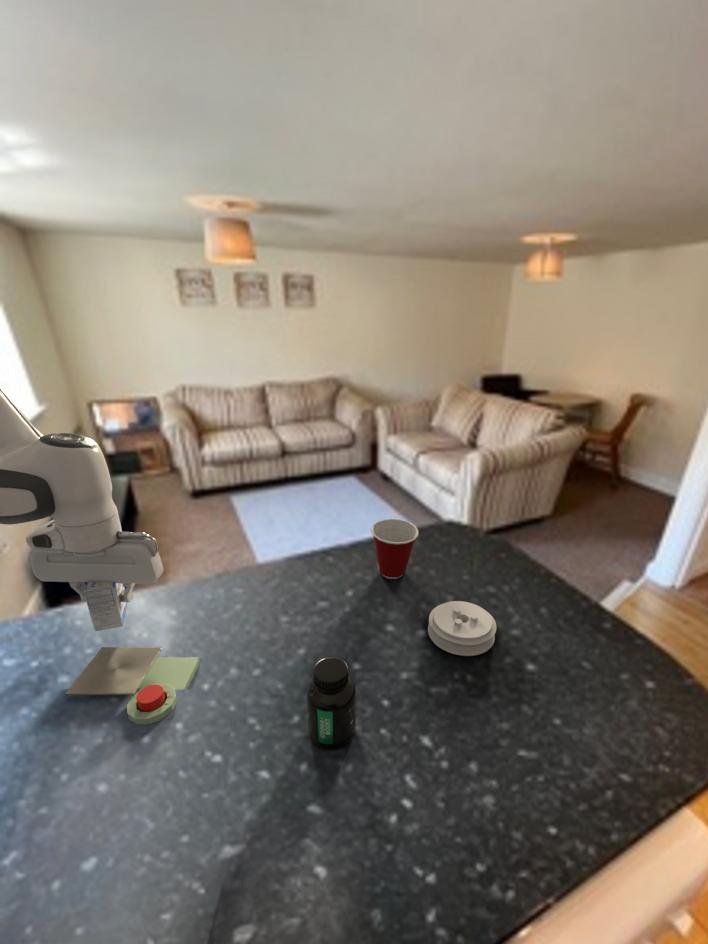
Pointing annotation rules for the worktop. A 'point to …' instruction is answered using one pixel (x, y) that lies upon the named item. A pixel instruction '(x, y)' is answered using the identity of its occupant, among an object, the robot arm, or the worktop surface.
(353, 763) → the worktop surface
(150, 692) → the button
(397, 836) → the worktop surface
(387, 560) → the plastic cup
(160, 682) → the green flat piece
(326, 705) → the supplement bottle
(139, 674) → the plate
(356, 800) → the worktop surface
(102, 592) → the medicine box
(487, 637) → the lid
